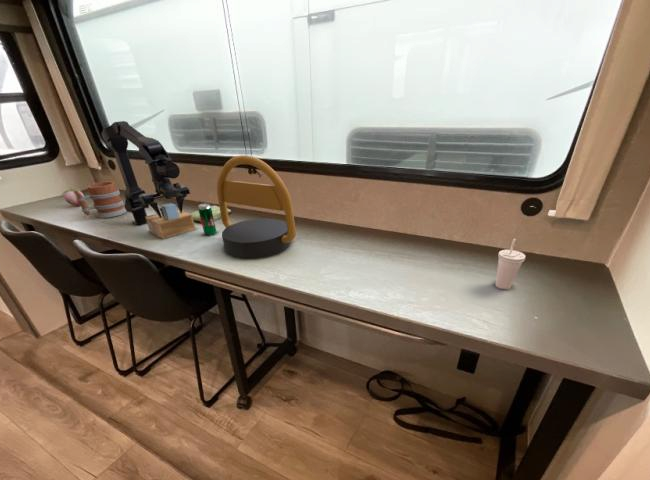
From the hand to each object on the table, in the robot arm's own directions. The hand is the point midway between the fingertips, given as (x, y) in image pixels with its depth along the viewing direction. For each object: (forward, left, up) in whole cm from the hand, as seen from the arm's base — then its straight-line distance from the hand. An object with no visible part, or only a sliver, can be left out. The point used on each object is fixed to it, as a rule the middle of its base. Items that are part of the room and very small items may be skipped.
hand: (171, 215), depth 138 cm
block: (0, 0, -1) cm, 1 cm away
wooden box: (-3, 0, -8) cm, 8 cm away
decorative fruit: (-87, -19, -8) cm, 90 cm away
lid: (-4, 0, -2) cm, 4 cm away
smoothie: (+119, +43, -8) cm, 126 cm away
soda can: (+14, +9, -8) cm, 18 cm away
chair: (+40, +15, -8) cm, 43 cm away
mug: (-53, -13, -8) cm, 56 cm away
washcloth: (-7, +20, -8) cm, 23 cm away
